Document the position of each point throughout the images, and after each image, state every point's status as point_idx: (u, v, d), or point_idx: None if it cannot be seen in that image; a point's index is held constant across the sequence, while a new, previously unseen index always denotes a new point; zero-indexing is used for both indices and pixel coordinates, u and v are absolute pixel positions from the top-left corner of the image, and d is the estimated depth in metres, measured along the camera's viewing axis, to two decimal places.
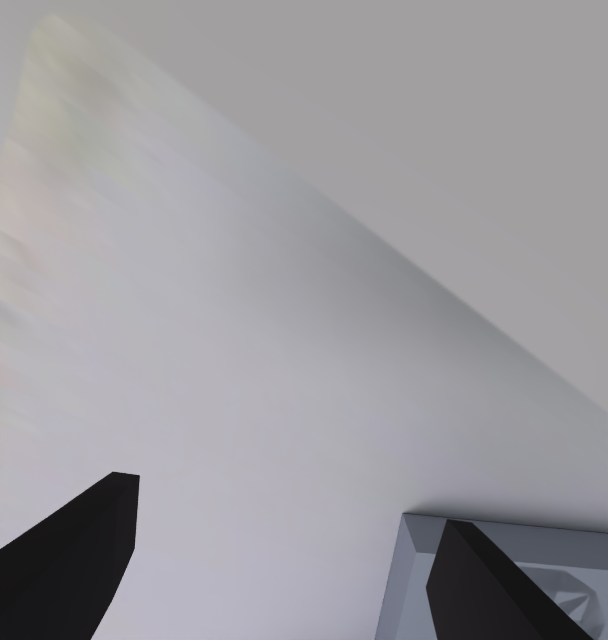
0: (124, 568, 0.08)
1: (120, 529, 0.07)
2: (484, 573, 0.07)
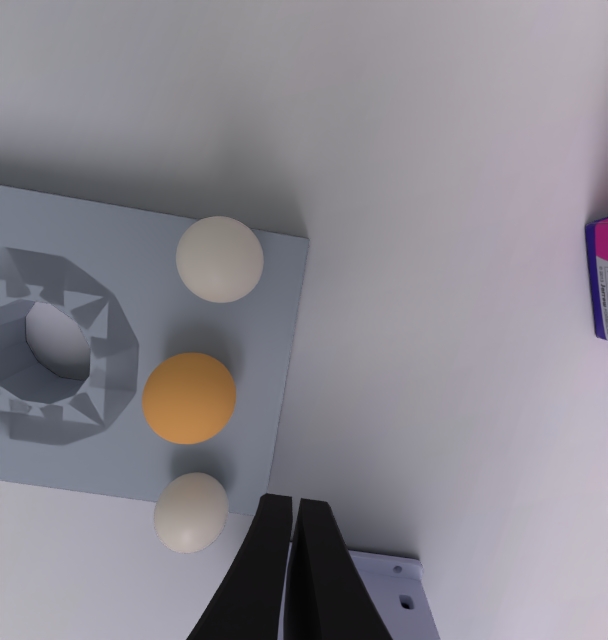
0: None
1: None
2: (305, 549, 0.07)
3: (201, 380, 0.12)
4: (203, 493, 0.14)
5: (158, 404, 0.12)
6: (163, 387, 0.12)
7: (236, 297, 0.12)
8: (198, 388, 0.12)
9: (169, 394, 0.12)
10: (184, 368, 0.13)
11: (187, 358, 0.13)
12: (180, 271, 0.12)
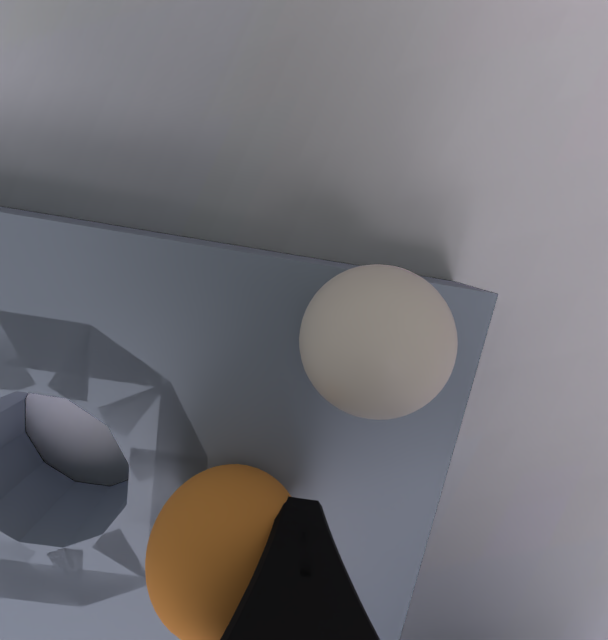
0: None
1: None
2: (294, 547, 0.07)
3: (198, 523, 0.07)
4: None
5: (155, 522, 0.08)
6: (170, 500, 0.08)
7: (412, 412, 0.07)
8: (185, 534, 0.07)
9: (162, 515, 0.07)
10: (203, 487, 0.07)
11: (227, 475, 0.08)
12: (318, 372, 0.06)
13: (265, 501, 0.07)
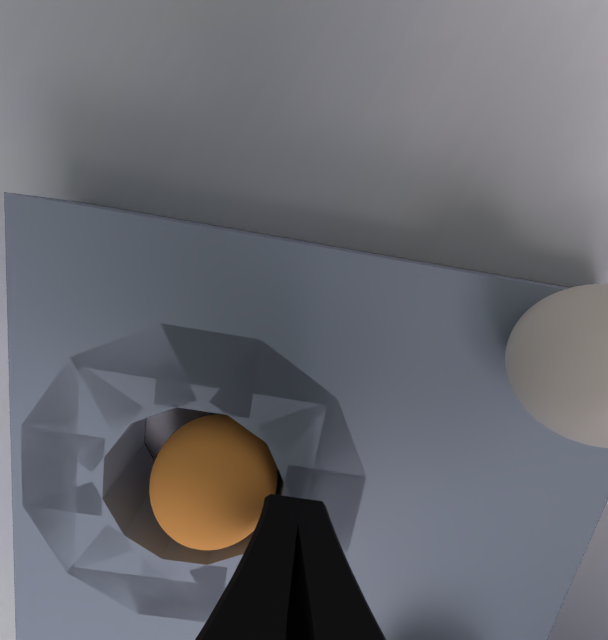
0: None
1: None
2: (299, 548, 0.07)
3: (217, 414, 0.10)
4: None
5: None
6: None
7: None
8: None
9: None
10: None
11: (242, 426, 0.10)
12: (566, 400, 0.06)
13: (206, 434, 0.09)
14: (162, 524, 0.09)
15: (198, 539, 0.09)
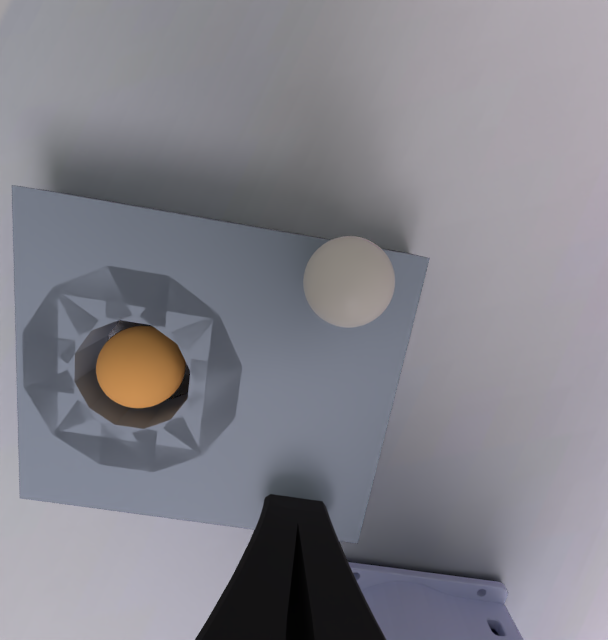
0: None
1: None
2: (299, 548, 0.07)
3: None
4: None
5: None
6: None
7: (369, 322, 0.12)
8: None
9: None
10: None
11: None
12: (314, 296, 0.11)
13: (134, 328, 0.14)
14: (98, 378, 0.14)
15: (115, 386, 0.14)
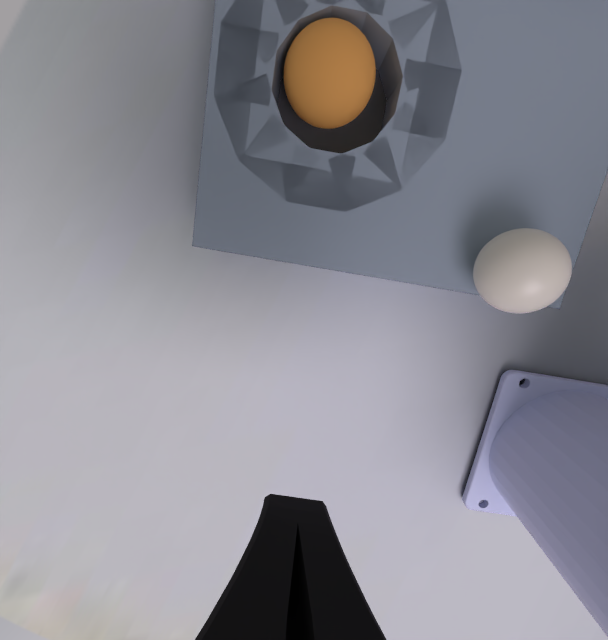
0: None
1: None
2: (299, 548, 0.07)
3: None
4: (552, 235, 0.12)
5: None
6: None
7: None
8: None
9: None
10: None
11: None
12: None
13: None
14: (290, 60, 0.12)
15: (313, 52, 0.12)
